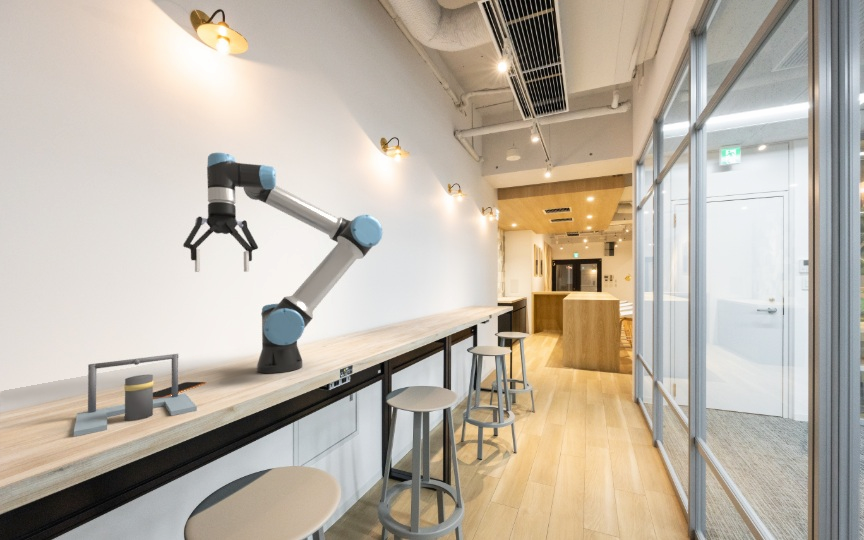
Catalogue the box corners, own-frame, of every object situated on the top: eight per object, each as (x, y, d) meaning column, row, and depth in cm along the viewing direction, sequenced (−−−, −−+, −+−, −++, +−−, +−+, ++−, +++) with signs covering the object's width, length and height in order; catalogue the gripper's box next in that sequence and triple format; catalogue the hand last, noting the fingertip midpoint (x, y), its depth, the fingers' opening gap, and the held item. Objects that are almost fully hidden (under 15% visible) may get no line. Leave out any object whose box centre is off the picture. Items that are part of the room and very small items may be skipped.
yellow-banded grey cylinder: (154, 416, 84) (154, 377, 84) (124, 422, 80) (124, 381, 81) (152, 411, 88) (152, 373, 88) (123, 417, 84) (124, 377, 85)
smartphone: (207, 384, 114) (207, 381, 114) (161, 400, 98) (161, 397, 98) (185, 384, 115) (185, 381, 115) (136, 400, 99) (136, 397, 99)
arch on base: (185, 397, 99) (185, 352, 100) (196, 410, 87) (196, 359, 88) (77, 417, 85) (77, 364, 86) (73, 436, 73) (74, 375, 74)
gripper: (259, 210, 126) (260, 271, 125) (171, 201, 109) (172, 272, 108) (267, 206, 120) (268, 270, 120) (176, 195, 103) (176, 270, 102)
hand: (223, 271), depth 114 cm, fingers open, 13 cm apart
